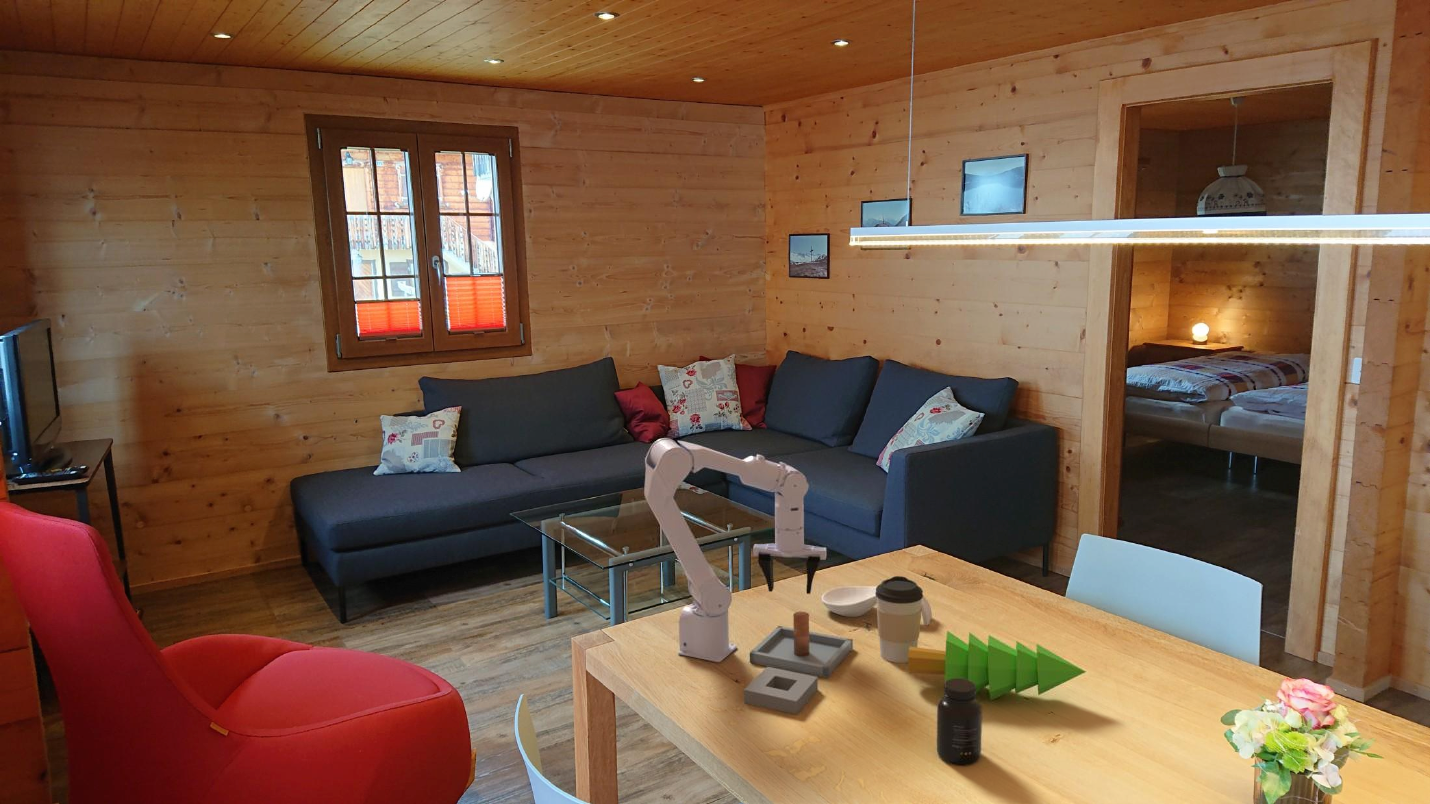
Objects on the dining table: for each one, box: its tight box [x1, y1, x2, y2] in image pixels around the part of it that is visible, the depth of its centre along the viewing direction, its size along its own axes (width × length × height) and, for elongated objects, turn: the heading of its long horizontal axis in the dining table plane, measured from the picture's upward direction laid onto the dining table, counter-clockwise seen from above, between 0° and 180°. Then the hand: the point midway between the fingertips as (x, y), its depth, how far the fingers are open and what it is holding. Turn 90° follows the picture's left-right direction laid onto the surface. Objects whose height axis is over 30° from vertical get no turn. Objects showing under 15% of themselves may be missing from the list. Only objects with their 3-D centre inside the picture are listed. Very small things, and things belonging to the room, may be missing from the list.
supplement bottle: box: [936, 678, 983, 767], centre depth 149 cm, size 7×7×12 cm
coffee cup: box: [875, 575, 924, 664], centre depth 185 cm, size 9×9×15 cm
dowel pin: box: [792, 611, 810, 657], centre depth 186 cm, size 3×3×8 cm
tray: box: [749, 625, 854, 679], centre depth 186 cm, size 16×14×2 cm
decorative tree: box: [907, 630, 1087, 701], centre depth 168 cm, size 11×12×30 cm
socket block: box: [743, 666, 819, 716], centre depth 170 cm, size 10×10×2 cm
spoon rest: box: [820, 585, 933, 626], centre depth 205 cm, size 24×12×7 cm, turn 68°
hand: (789, 590), depth 192 cm, fingers open, 7 cm apart
